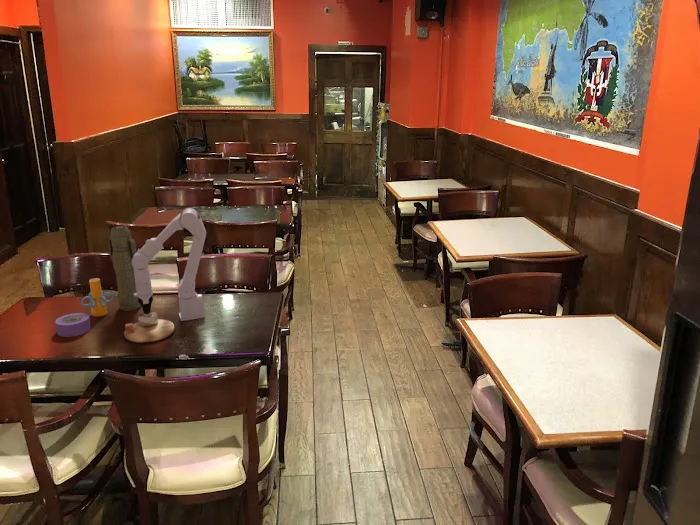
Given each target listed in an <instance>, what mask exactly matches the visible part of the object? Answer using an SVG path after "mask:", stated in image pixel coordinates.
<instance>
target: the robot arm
mask: <svg viewBox="0 0 700 525" xmlns="http://www.w3.org/2000/svg"><path fill="white" fill-rule="evenodd" d="M184 229H186V230H187V231H189V232H190V234H191V235H192V236H193V237H192V241H191V246H190V249H189V253H188V258H187V261H186V266H185V269H184V273H183V276H182V278H181V279H180V281H179V286H178V288H177V289H178V290H177V294H178V305H179V313H178V315H179V319H180V322H183V321H185V322H186V321H190V320H196V319H197V320H198V319H204V318H206V317H205V316H206V314H205V310H206V309H205V305H204V298H203V294H202V293H197V292H196V289H195V288H196V277H197V274H198V269H199V266H200V261H201V257H202V254H203V248H204V245H205V242H206V237H207V231H206V230H207V229H206V228H205V225H204V222H203V219H202V216H201V214H200V213H199V212H198V210H196V209H195V208H193V207H186V208H184V209H183V211H182V212H180V213H179V214H177V215H176V216H175V217H174V218H173V219H172V220H171V221H170V222H169V224H167V226H166V227H165V228H164V229H163V230H162V231H161V232H160V233H159V234H158V235H157V237H151V238H150V239H147V240H145V244H144V245H143V246H142V247H141V248H139V249H136V252H137V253H135V255H134V256H133V259H132V266H133V267H134V276H135V283H136V291H137V293H134V297H136V296H137V297H138V302H139V303H140V305H141V307H140V308H141V309H142V312H143V313H146V312H152V309H151V308H152V304H153V301H154V298H153V297H154V296H153V294H154V292H153V288H152V287H153V286H152V279H151V273H150V268H149V261H152V260H153V259H154V258H155V257H156V256H157V255H158V254H159V253H160V252H161V250H162V249H163V248H164V246H163V245H164V243H165V242H166V241H167V240H168V239H169V238H170V237H171V236H172V235H174V233H175V232H176V231H182V230H184Z"/></svg>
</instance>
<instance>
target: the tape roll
mask: <svg viewBox="0 0 700 525" xmlns="http://www.w3.org/2000/svg"><path fill="white" fill-rule="evenodd" d="M90 320H91V319H90V316H89V314H88V313H83V312H77V313H76V312H75V313H70V314H69V313H68V314H65V315H62V316H60V317H58V318H56V320H55V322H54V323H55V328H56V334H57V335H58V336H59V337H66V338H70V337H72V338H73V337H77V336H81V335H83V334H86V333H88V332H90V330H91V328H92V327H91V321H90Z"/></svg>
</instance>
